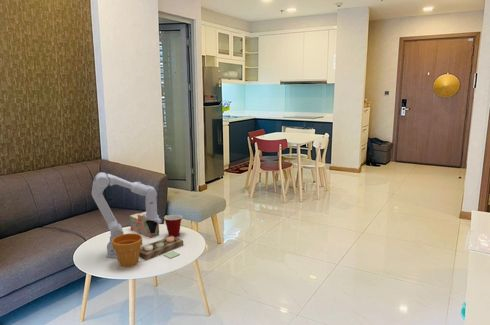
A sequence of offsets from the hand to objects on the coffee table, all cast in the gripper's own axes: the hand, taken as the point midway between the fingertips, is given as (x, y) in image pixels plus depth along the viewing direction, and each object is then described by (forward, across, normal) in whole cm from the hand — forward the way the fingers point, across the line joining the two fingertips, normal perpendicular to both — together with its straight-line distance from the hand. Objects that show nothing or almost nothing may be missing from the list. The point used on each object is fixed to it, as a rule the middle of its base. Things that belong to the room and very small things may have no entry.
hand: (152, 233), depth 201 cm
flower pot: (+9, -6, +19) cm, 22 cm away
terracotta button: (+7, -5, -7) cm, 11 cm away
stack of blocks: (+9, +23, -9) cm, 26 cm away
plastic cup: (+9, +5, -18) cm, 20 cm away
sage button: (+8, -5, 0) cm, 10 cm away
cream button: (+7, -5, +7) cm, 11 cm away
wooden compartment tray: (+8, -5, 0) cm, 10 cm away
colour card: (+8, -15, -1) cm, 17 cm away
